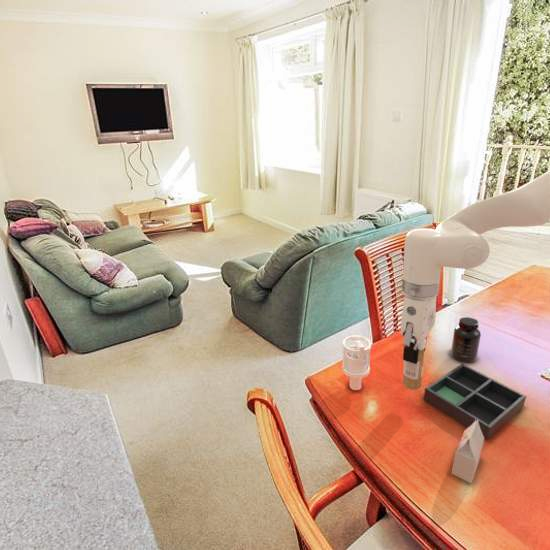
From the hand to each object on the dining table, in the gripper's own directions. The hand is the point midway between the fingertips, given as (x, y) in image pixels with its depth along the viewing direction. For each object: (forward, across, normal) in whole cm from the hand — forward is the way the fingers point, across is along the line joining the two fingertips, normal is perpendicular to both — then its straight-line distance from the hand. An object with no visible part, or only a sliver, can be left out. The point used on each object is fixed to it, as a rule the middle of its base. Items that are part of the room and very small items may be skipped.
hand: (414, 354), depth 88 cm
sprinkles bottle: (+9, 0, 0) cm, 9 cm away
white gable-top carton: (+14, -12, -16) cm, 24 cm away
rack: (+14, +8, -13) cm, 21 cm away
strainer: (+14, -2, +14) cm, 20 cm away
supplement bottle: (+15, +27, -6) cm, 31 cm away
